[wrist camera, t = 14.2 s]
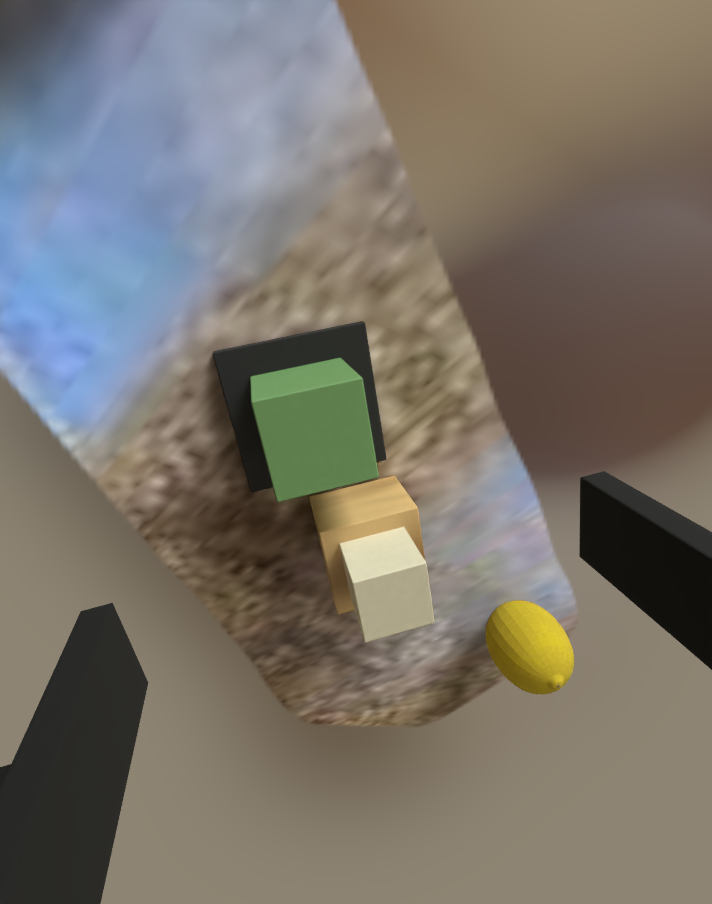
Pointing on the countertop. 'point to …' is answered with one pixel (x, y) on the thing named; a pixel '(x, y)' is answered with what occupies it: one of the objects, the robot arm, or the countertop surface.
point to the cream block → (387, 583)
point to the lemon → (529, 647)
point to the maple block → (360, 524)
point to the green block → (314, 428)
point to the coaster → (283, 355)
